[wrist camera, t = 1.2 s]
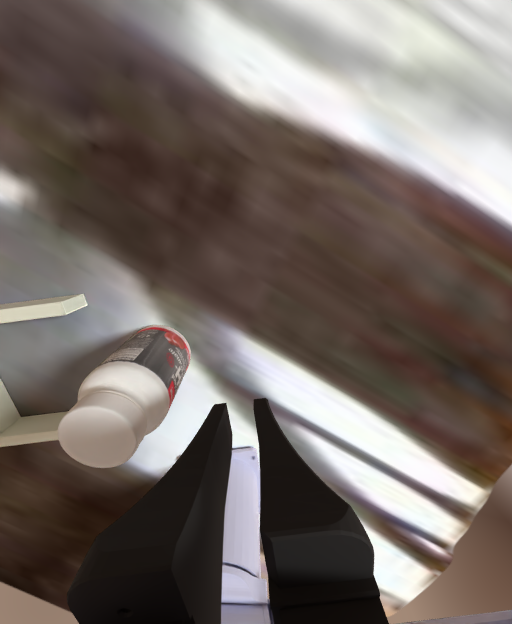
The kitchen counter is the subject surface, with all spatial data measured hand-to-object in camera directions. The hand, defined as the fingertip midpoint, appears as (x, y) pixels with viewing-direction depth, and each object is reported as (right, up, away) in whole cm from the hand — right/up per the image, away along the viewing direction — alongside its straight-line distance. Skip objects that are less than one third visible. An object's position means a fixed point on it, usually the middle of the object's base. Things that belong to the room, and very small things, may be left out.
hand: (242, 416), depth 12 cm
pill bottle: (-8, +2, +9) cm, 12 cm away
